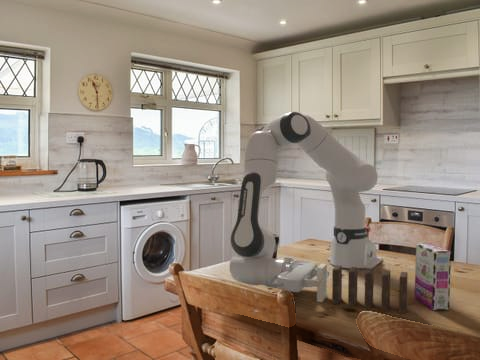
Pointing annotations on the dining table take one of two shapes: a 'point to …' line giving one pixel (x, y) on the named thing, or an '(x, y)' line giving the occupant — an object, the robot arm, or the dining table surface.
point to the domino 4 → (385, 290)
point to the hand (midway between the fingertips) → (324, 278)
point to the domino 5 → (403, 292)
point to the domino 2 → (352, 286)
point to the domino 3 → (369, 288)
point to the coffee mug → (276, 245)
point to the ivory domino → (322, 282)
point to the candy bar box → (432, 276)
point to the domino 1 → (337, 284)
